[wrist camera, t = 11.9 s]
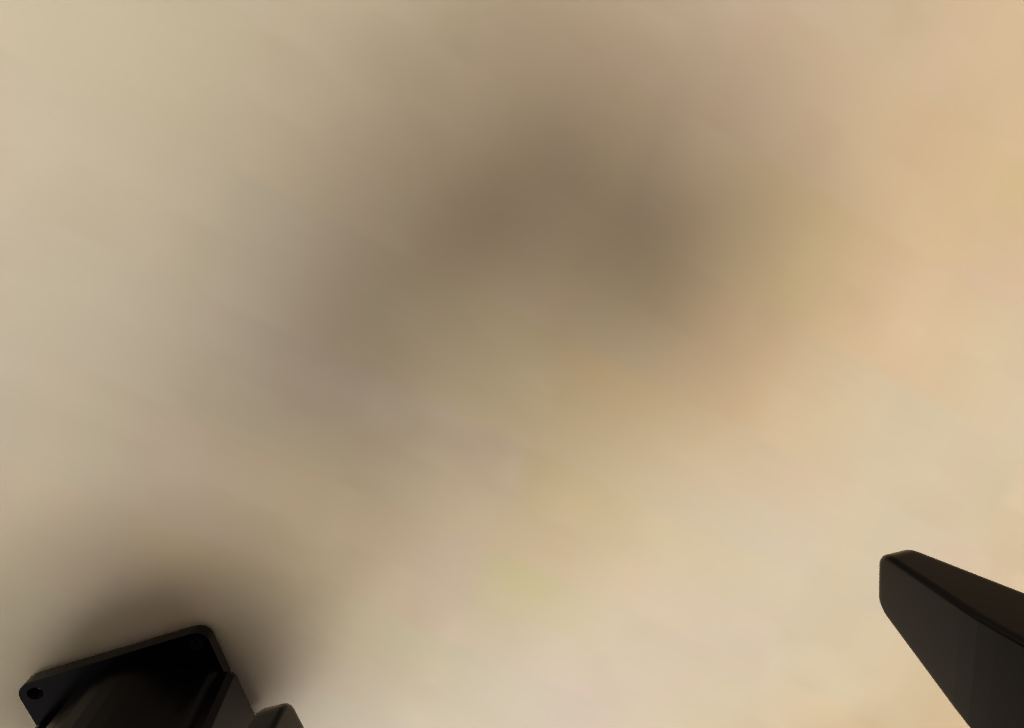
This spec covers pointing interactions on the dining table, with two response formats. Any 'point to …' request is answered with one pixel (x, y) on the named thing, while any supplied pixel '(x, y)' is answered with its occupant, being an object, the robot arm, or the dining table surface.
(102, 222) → the dining table surface
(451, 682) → the dining table surface
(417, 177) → the dining table surface
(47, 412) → the dining table surface
